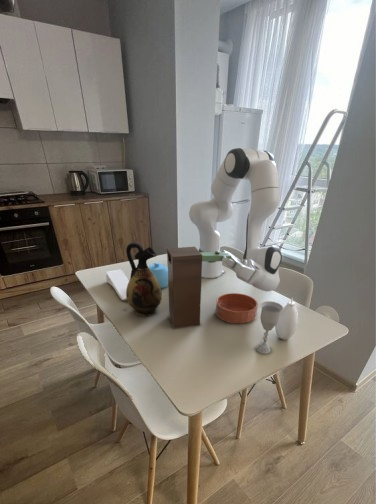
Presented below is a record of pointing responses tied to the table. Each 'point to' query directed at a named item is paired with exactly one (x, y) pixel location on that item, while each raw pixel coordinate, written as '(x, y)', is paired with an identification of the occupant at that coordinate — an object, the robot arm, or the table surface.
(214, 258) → the green rectangular block
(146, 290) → the ceramic jug
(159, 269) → the sugar bowl
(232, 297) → the bowl
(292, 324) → the white tall oval piece
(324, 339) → the table surface
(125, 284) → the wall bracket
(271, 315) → the chalice
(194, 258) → the stand
